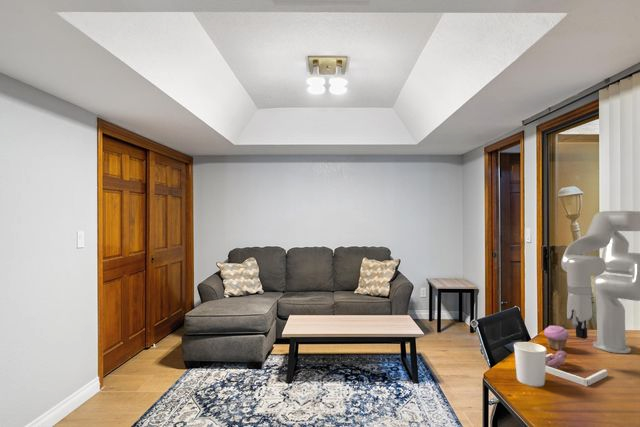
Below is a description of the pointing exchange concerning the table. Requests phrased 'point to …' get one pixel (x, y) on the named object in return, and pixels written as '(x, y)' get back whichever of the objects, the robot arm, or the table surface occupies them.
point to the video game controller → (557, 359)
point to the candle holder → (530, 363)
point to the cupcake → (556, 337)
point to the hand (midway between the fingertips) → (581, 337)
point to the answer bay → (575, 378)
